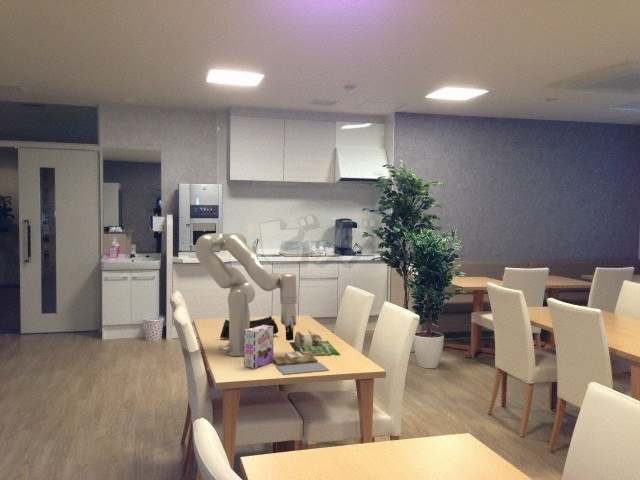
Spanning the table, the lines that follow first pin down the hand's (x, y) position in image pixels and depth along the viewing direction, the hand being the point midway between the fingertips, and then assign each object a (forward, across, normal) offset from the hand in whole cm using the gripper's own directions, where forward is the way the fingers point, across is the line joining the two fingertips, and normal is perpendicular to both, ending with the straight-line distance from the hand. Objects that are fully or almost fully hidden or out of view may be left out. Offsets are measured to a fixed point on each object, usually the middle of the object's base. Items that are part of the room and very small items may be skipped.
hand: (289, 339), depth 260 cm
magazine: (+7, -43, -9) cm, 44 cm away
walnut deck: (+8, +10, -1) cm, 13 cm away
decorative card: (+9, -12, +16) cm, 22 cm away
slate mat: (+8, +21, -1) cm, 23 cm away
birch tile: (+5, +10, -1) cm, 11 cm away
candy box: (+8, +9, -17) cm, 21 cm away
